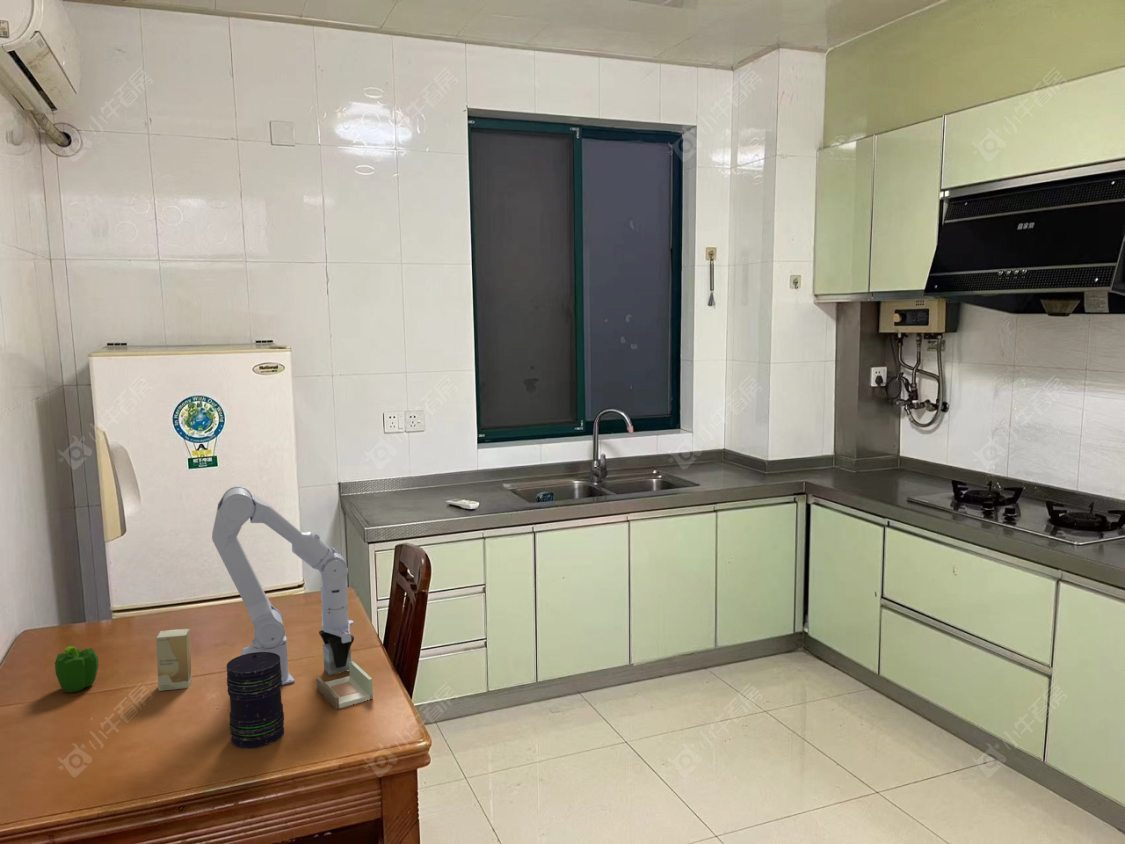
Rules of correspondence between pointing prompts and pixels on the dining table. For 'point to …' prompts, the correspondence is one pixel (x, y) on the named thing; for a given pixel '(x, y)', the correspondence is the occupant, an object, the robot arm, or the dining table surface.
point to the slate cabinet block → (329, 661)
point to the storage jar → (255, 700)
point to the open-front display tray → (347, 688)
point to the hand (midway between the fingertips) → (337, 663)
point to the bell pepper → (76, 668)
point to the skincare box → (174, 659)
